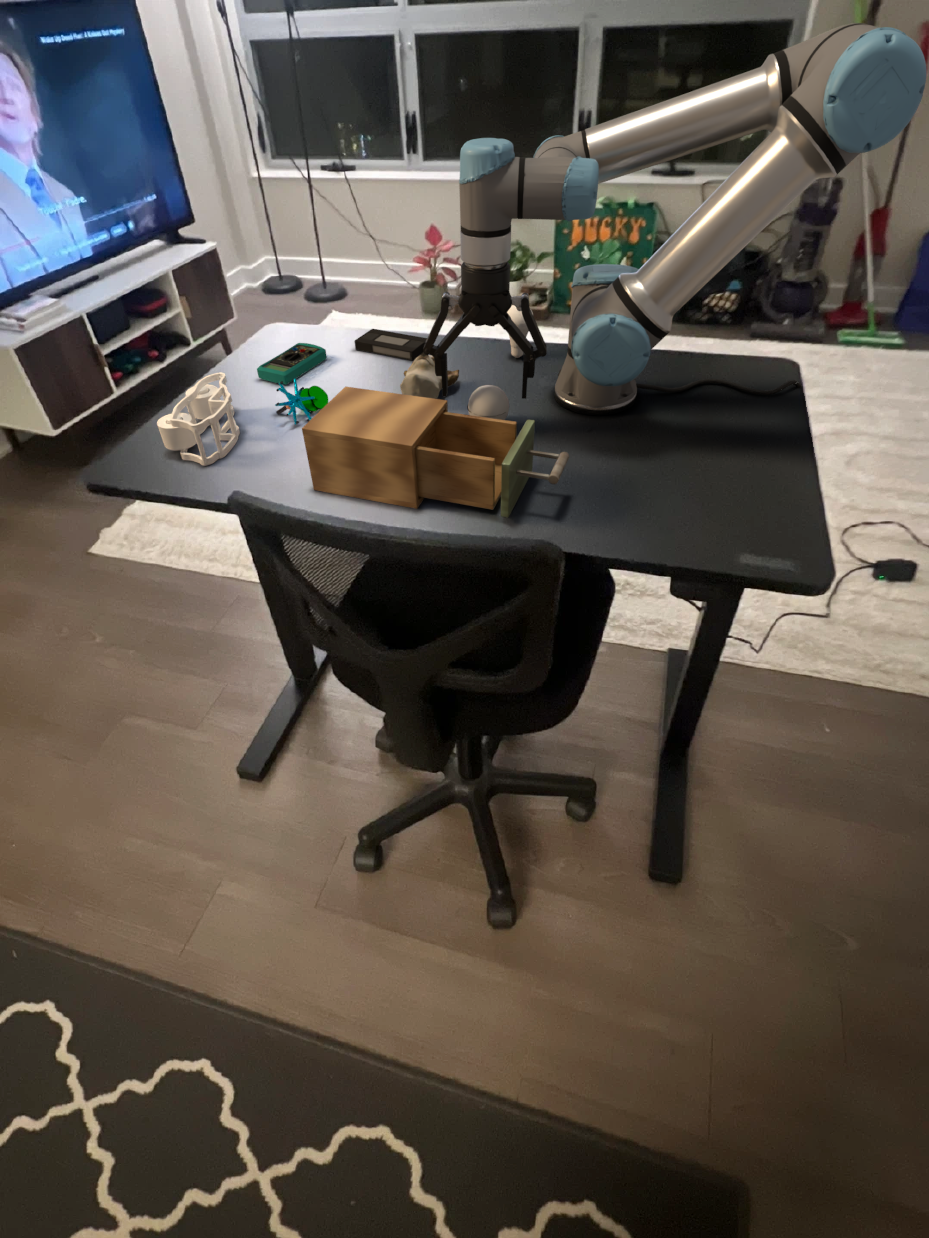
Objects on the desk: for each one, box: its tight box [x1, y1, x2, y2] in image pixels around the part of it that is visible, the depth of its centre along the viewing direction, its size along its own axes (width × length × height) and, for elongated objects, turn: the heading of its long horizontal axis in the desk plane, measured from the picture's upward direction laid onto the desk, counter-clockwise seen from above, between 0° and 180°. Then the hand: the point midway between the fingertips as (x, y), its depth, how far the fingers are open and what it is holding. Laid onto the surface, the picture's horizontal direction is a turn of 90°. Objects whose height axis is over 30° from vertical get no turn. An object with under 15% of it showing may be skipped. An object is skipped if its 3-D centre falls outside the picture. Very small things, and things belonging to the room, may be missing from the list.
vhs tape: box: [354, 328, 428, 361], centre depth 153 cm, size 8×14×2 cm, turn 64°
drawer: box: [414, 411, 570, 518], centre depth 108 cm, size 23×14×9 cm, turn 71°
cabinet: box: [301, 385, 449, 510], centre depth 112 cm, size 18×15×11 cm
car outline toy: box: [156, 372, 241, 467], centre depth 125 cm, size 20×11×7 cm, turn 171°
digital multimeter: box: [256, 342, 328, 386], centre depth 146 cm, size 7×15×3 cm, turn 153°
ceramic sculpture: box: [399, 353, 460, 399], centre depth 134 cm, size 11×9×15 cm
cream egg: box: [466, 384, 510, 420], centre depth 124 cm, size 10×7×7 cm
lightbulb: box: [507, 305, 534, 359], centre depth 145 cm, size 6×6×11 cm
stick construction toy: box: [274, 378, 329, 425], centre depth 132 cm, size 12×7×8 cm
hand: (484, 394), depth 122 cm, fingers open, 13 cm apart
